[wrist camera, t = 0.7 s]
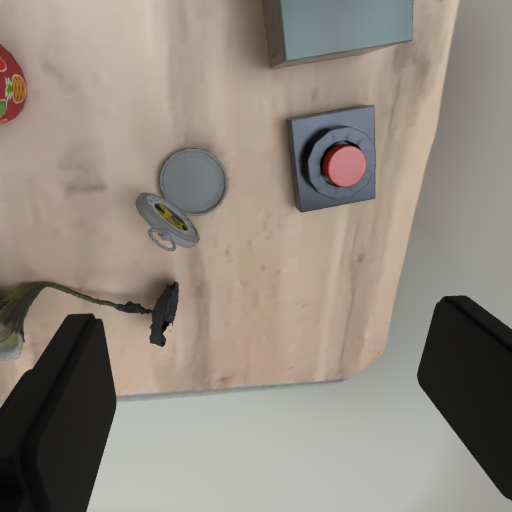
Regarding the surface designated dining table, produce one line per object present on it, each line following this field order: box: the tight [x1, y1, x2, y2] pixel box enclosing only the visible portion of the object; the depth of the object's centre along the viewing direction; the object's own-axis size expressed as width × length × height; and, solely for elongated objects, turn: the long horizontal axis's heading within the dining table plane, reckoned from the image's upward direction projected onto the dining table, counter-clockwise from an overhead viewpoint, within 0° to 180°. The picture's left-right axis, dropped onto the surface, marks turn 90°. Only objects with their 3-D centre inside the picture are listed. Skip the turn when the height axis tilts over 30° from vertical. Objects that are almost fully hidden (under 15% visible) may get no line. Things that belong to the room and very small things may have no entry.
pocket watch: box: [136, 148, 228, 251], centre depth 31 cm, size 8×8×10 cm
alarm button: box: [323, 144, 367, 187], centre depth 32 cm, size 4×4×2 cm
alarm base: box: [286, 105, 376, 212], centre depth 34 cm, size 9×8×4 cm
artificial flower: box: [0, 282, 179, 363], centre depth 36 cm, size 9×22×10 cm, turn 79°
